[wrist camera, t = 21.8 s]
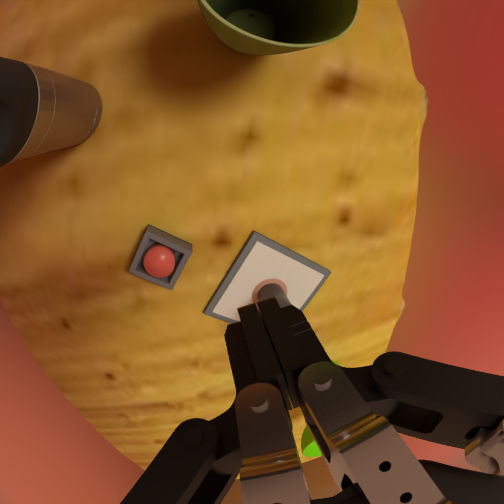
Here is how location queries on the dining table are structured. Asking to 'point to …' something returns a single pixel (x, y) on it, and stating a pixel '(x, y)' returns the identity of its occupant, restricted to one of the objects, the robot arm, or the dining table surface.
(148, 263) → the button
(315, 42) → the flower pot
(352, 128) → the dining table surface
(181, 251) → the button base
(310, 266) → the board
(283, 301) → the canister
